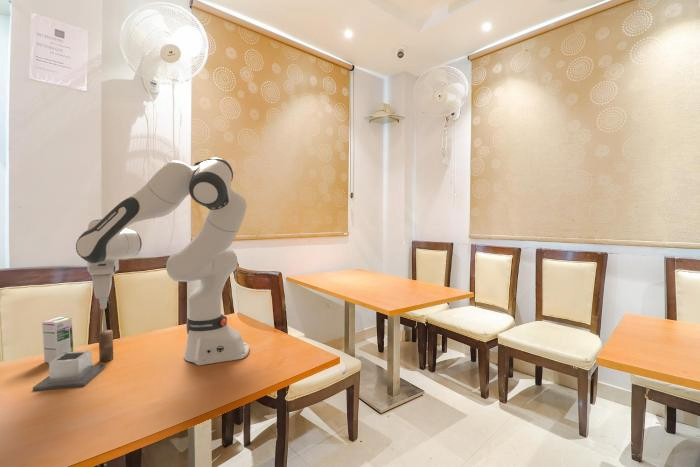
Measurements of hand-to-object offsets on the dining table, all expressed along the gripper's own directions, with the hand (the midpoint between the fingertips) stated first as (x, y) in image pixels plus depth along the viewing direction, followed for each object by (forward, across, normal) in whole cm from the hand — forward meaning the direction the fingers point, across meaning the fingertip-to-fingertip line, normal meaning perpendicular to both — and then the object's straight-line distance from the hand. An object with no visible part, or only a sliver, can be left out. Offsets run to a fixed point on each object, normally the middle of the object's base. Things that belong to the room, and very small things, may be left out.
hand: (104, 305), depth 119 cm
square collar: (+19, +11, -8) cm, 24 cm away
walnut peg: (+20, 0, 0) cm, 20 cm away
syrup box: (+20, -8, -14) cm, 25 cm away
